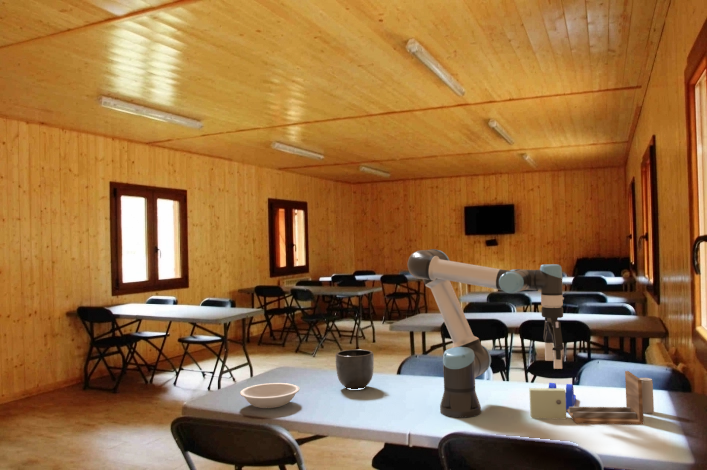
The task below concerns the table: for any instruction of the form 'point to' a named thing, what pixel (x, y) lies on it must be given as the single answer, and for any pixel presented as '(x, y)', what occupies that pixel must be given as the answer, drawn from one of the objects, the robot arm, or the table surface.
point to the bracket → (567, 394)
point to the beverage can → (647, 395)
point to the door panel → (547, 403)
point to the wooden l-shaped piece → (614, 414)
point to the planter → (354, 367)
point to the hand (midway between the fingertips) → (553, 364)
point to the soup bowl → (269, 394)
